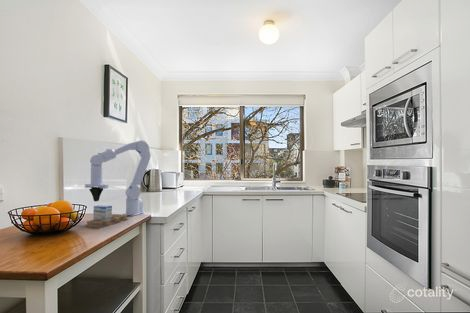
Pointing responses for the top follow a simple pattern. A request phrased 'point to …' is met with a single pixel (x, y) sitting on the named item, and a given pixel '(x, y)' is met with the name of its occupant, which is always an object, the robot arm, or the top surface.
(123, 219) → the walnut channel
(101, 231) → the top surface
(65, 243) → the top surface
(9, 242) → the top surface
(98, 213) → the medicine box
